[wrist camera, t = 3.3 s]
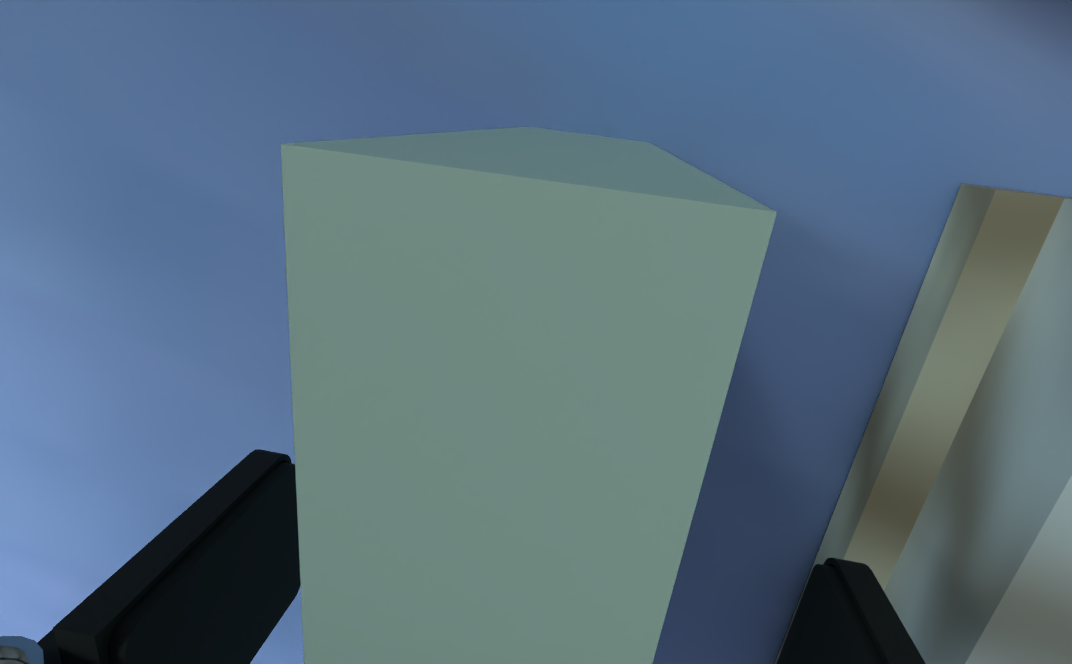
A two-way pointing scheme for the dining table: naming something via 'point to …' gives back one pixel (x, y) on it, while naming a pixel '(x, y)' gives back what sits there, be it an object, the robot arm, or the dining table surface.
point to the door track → (932, 369)
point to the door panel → (504, 388)
